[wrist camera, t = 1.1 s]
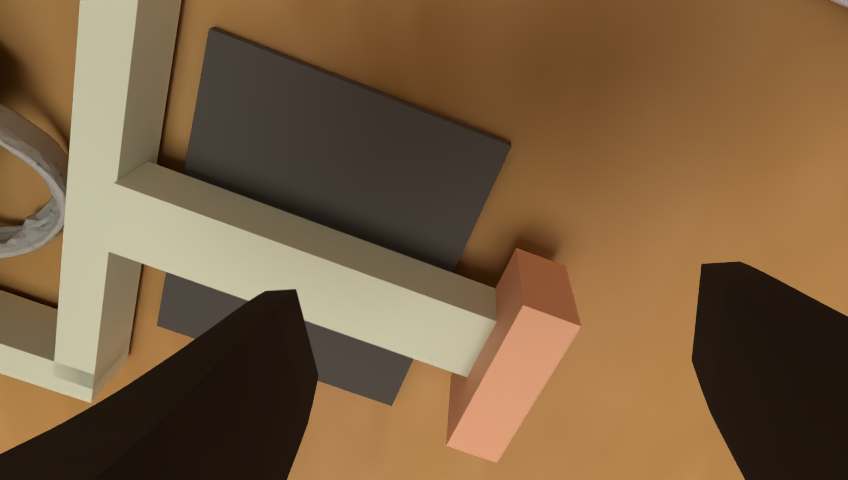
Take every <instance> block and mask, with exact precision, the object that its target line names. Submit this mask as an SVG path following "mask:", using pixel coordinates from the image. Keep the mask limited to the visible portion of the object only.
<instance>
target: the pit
mask: <svg viewBox="0 0 848 480" xmlns="http://www.w3.org/2000/svg"><path fill="white" fill-rule="evenodd" d="M510 148H511V142H508V141H505V140H503V139H500V138H498V137H495V136H493V135H490V134H487V133H485V132H482V131H480V130H477V129H475V128H472V127H470V126H467V125H464V124H462V123H459V122H457V121H454V120H452V119H449V118H446V117H444V116H441V115H439V114H436V113H434V112H431V111H428V110H426V109H423V108H421V107H418V106H416V105H413V104H411V103H408V102H405V101H403V100H400V99H398V98H395V97H393V96H390V95H387V94H385V93H382V92H380V91H377V90H375V89H372V88H369V87H367V86H364V85H362V84H359V83H357V82H354V81H352V80H349V79H346V78H344V77H341V76H339V75H336V74H334V73H331V72H328V71H326V70H323V69H321V68H318V67H316V66H313V65H310V64H308V63H305V62H303V61H300V60H298V59H295V58H293V57H290V56H287V55H285V54H282V53H280V52H277V51H275V50H272V49H269V48H267V47H264V46H262V45H259V44H257V43H254V42H251V41H249V40H246V39H244V38H241V37H239V36H236V35H234V34H231V33H228V32H226V31H223V30H221V29H218V28H216V27H213V28H210V29H209V33H208V39H207V44H206V50H205V56H204V61H203V67H202V73H201V78H200V84H199V90H198V96H197V101H196V107H195V113H194V118H193V124H192V130H191V135H190V141H189V147H188V152H187V158H186V164H185V169H184V175H187V176H190V177H192V178H195V179H198V180H200V181H203V182H206V183H209V184H211V185H214V186H217V187H220V188H222V189H225V190H228V191H230V192H233V193H236V194H239V195H241V196H244V197H247V198H250V199H252V200H255V201H258V202H261V203H263V204H266V205H269V206H271V207H274V208H277V209H280V210H282V211H285V212H288V213H291V214H293V215H296V216H299V217H301V218H304V219H307V220H310V221H312V222H315V223H318V224H321V225H323V226H326V227H329V228H332V229H334V230H337V231H340V232H342V233H345V234H348V235H351V236H353V237H356V238H359V239H362V240H364V241H367V242H370V243H372V244H375V245H378V246H381V247H383V248H386V249H389V250H392V251H394V252H397V253H400V254H403V255H405V256H408V257H411V258H413V259H416V260H419V261H422V262H424V263H427V264H430V265H433V266H435V267H438V268H441V269H443V270H446V271H449V272H452V273H453V272H454V269H455V267H456V265H457V263H458V261H459V259H460V256H461V254H462V252H463V250H464V248H465V246H466V243H467V241H468V239H469V237H470V235H471V232H472V230H473V228H474V226H475V224H476V222H477V219H478V217H479V215H480V213H481V211H482V209H483V206H484V204H485V202H486V200H487V198H488V196H489V193H490V191H491V189H492V187H493V185H494V183H495V180H496V178H497V176H498V174H499V172H500V169H501V167H502V165H503V163H504V161H505V159H506V156H507V154H508V152H509V150H510ZM247 302H248V300H245V299H242V298H239V297H236V296H234V295H231V294H228V293H225V292H222V291H219V290H216V289H214V288H211V287H208V286H205V285H202V284H199V283H197V282H194V281H191V280H188V279H185V278H182V277H179V276H177V275H174V274H171V273H168V272H166V277H165V283H164V288H163V294H162V300H161V305H160V311H159V317H158V322H157V326H160V327H163V328H166V329H169V330H171V331H174V332H177V333H180V334H183V335H186V336H189V337H192V338H195V339H196V338H198V337H199V336H200V335H202V334H203V333H205V332H206V331H207V330H209V329H210V328H211V327H213V326H214V325H216V324H217V323H218V322H220V321H221V320H223V319H224V318H225V317H227V316H228V315H229V314H231V313H232V312H234V311H235V310H236V309H238V308H239V307H241V306H242V305H244V304H245V303H247ZM304 321H305V320H304ZM305 325H306V329H307V333H308V337H309V340H310V344H311V348H312V352H313V356H314V360H315V363H316V367H317V371H318V375H319V376H318V381H320V382H323V383H326V384H329V385H332V386H335V387H338V388H341V389H344V390H347V391H350V392H353V393H356V394H358V395H361V396H364V397H367V398H370V399H373V400H376V401H379V402H382V403H385V404H388V405H391V406H392V404H393V402H394V400H395V398H396V395H397V393H398V391H399V389H400V387H401V385H402V382H403V380H404V378H405V376H406V374H407V372H408V369H409V367H410V365H411V363H412V361H413V358H410V357H408V356H405V355H402V354H399V353H396V352H393V351H390V350H388V349H385V348H382V347H379V346H376V345H373V344H370V343H368V342H365V341H362V340H359V339H356V338H353V337H350V336H348V335H345V334H342V333H339V332H336V331H333V330H331V329H328V328H325V327H322V326H319V325H316V324H313V323H311V322H308V321H305Z"/></svg>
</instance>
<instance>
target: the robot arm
mask: <svg viewBox="0 0 848 480" xmlns="http://www.w3.org/2000/svg"><path fill="white" fill-rule="evenodd" d="M830 1H832V2H834V3H836V4H839V5H841V6H843V7H846V8H848V0H830ZM692 363H693V366H694V368H695V371H696V374H697V377H698V380H699V383H700V386H701V389H702V392H703V394H704V397H705V400H706V402H707V405H708V408H709V410H710V413H711V415H712V417H713V419H714V421H715V423H716V425H717V427H718V428H719V430H720V432H721V434H722V436H723V438H724V440H725V442H726V444H727V446H728V448H729V450H730V452H731V454H732V456H733V457H734V459H735V461H736V463H737V465H738V467H739V469H740V471H741V473H742V474H743V476H744V478H745V480H848V317H847V316H846V315H844V314H842V313H840V312H838V311H836V310H834V309H832V308H830V307H828V306H826V305H824V304H823V303H821V302H819V301H817V300H815V299H813V298H811V297H809V296H807V295H806V294H804V293H802V292H800V291H798V290H796V289H794V288H792V287H790V286H789V285H787V284H785V283H783V282H781V281H779V280H777V279H775V278H773V277H771V276H770V275H768V274H766V273H764V272H762V271H760V270H758V269H756V268H753V267H751V266H749V265H747V264H744V263H742V262H726V263H710V264H702V266H701V275H700V285H699V295H698V304H697V314H696V324H695V334H694V343H693V353H692ZM318 376H319V375H318V371H317V367H316V363H315V360H314V356H313V352H312V348H311V344H310V340H309V337H308V333H307V329H306V325H305V321H304V317H303V314H302V310H301V306H300V302H299V298H298V294H297V291H296V289H288V290H272V291H264V292H263V293H261V294H259V295H257V296H256V297H254V298H252V299H251V300H249V301H248V302H247V303H245V304H244V305H242V306H241V307H239V308H238V309H236V310H235V311H234V312H232V313H231V314H229V315H228V316H227V317H225V318H224V319H223V320H221V321H220V322H218V323H217V324H216V325H214V326H213V327H211V328H210V329H209V330H207V331H206V332H205V333H203V334H202V335H200V336H199V337H198V338H196V339H195V340H193V341H192V342H191V343H189V344H188V345H186V346H185V347H184V348H182V349H181V350H179V351H178V352H177V353H175V354H174V355H172V356H171V357H169V358H168V359H166V360H165V361H163V362H162V363H160V364H159V365H157V366H156V367H154V368H153V369H151V370H150V371H148V372H147V373H145V374H144V375H142V376H141V377H139V378H138V379H136V380H135V381H133V382H132V383H130V384H129V385H127V386H125V387H124V388H122V389H121V390H119V391H117V392H116V393H114V394H112V395H111V396H109V397H107V398H106V399H104V400H102V401H101V402H99V403H97V404H96V405H94V406H92V407H90V408H89V409H87V410H85V411H83V412H81V413H80V414H78V415H76V416H74V417H73V418H71V419H69V420H67V421H65V422H64V423H62V424H60V425H58V426H56V427H54V428H52V429H50V430H48V431H46V432H44V433H42V434H40V435H38V436H36V437H34V438H32V439H30V440H28V441H26V442H24V443H22V444H20V445H18V446H16V447H14V448H12V449H10V450H8V451H6V452H4V453H2V454H0V480H287V478H288V475H289V472H290V470H291V467H292V465H293V462H294V459H295V457H296V454H297V451H298V449H299V446H300V443H301V441H302V438H303V435H304V432H305V430H306V427H307V424H308V420H309V416H310V412H311V408H312V404H313V400H314V395H315V390H316V385H317V381H318Z"/></svg>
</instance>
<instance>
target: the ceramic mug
mask: <svg viewBox="0 0 848 480" xmlns="http://www.w3.org/2000/svg"><path fill="white" fill-rule="evenodd" d="M0 145H1V146H2V147H4V148H5V149H7V150H8V151H10V152H11V153H13V154H14V155H16V156H17V157H19V158H20V159H22V160H23V161H24V162H26V163H27V164H28V165H29V166H31V167H32V168H33V169H34V170H36V171H37V172H38V173H39V174H40V175H41V177H42V178H43V179H44V180H45V182H46V183H47V184H48V186H49V187H50V188H49V189H50V191H51V193H52V195H53V197H52V198H51V200H50V201H49V202H48V203H47V204H46V205H45V207H43V208H42V209H41V210H40V211H39V212H38V213H36V214H33V215H30V216H28V217H27V219H26V220H25V222H24V224H23V225H17V226H0V258H5V257H12V256H18V255H22V254H26V253H29V252H33V251H35V250H37V249H39V248H40V247H42V246H44V245H46V244H47V243H49V242H50V241H51V240H53V239H54V238H55V237H56V236H57V235H58V234H59V233H60V232H61V230H62V229H63V228H64V218H65V204H66V190H67V176H68V162H69V157H68V155H67V154H66V153H65V152H64V150H63V149H62V148H61V146H60V145H59V144H58V143H57V142H56V141H55V140H54V139H53V138H52V137H51V136H50V135H48V134H47V133H46V132H44V131H43V130H41V129H40V128H39V127H37V126H36V125H34V124H33V123H31V122H30V121H29V120H27V119H26V118H24V117H23V116H21V115H20V114H18V113H17V112H15V111H13V110H12V109H10V108H8V107H6V106H4V105H3V104H1V103H0Z"/></svg>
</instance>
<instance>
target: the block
mask: <svg viewBox="0 0 848 480" xmlns="http://www.w3.org/2000/svg"><path fill="white" fill-rule="evenodd" d="M180 6H181V0H80V8H79V22H78V36H77V50H76V64H75V78H74V92H73V106H72V120H71V134H70V148H69V162H68V176H67V190H66V204H65V218H64V232H63V246H62V260H61V274H60V288H59V302H58V309H55V308H52V307H49V306H46V305H43V304H40V303H37V302H34V301H31V300H28V299H25V298H22V297H19V296H16V295H14V294H11V293H8V292H5V291H2V290H0V373H1V374H4V375H7V376H10V377H13V378H16V379H19V380H22V381H25V382H28V383H31V384H34V385H37V386H41V387H44V388H47V389H50V390H53V391H56V392H59V393H62V394H65V395H68V396H71V397H74V398H77V399H80V400H83V401H86V402H89V403H92V401H93V400H94V399H95V398H96V397H97V396H98V394H99V393H100V392H101V391H102V390H103V389H104V387H105V386H106V385H107V384H108V383H109V382H110V380H111V379H112V378H113V377H114V376H115V375H116V373H117V372H118V371H119V370H120V369H121V368H122V366H123V365H124V364H125V363H126V362H127V358H128V352H129V345H130V338H131V332H132V325H133V318H134V312H135V305H136V299H137V292H138V285H139V279H140V272H141V265H142V264H145V265H148V266H151V267H154V268H157V269H159V270H162V271H165V272H168V273H171V274H174V275H177V276H179V277H182V278H185V279H188V280H191V281H194V282H197V283H199V284H202V285H205V286H208V287H211V288H214V289H216V290H219V291H222V292H225V293H228V294H231V295H234V296H236V297H239V298H242V299H245V300H248V301H249V300H251V299H252V298H254V297H256V296H257V295H259V294H261V293H263V292H264V291H272V290H288V289H296V291H297V294H298V298H299V302H300V306H301V310H302V314H303V317H304V320H305V321H308V322H311V323H313V324H316V325H319V326H322V327H325V328H328V329H331V330H333V331H336V332H339V333H342V334H345V335H348V336H350V337H353V338H356V339H359V340H362V341H365V342H368V343H370V344H373V345H376V346H379V347H382V348H385V349H388V350H390V351H393V352H396V353H399V354H402V355H405V356H408V357H410V358H413V359H416V360H419V361H422V362H425V363H427V364H430V365H433V366H436V367H439V368H442V369H445V370H447V371H450V372H453V373H452V375H451V384H450V399H449V413H448V427H447V442H446V446H449V447H452V448H455V449H458V450H461V451H463V452H466V453H469V454H472V455H475V456H478V457H481V458H484V459H487V460H490V461H493V462H496V463H497V462H498V460H499V458H500V457H501V455H502V453H503V452H504V450H505V449H506V447H507V445H508V444H509V442H510V441H511V439H512V437H513V436H514V434H515V433H516V431H517V429H518V428H519V426H520V424H521V423H522V421H523V420H524V418H525V416H526V415H527V413H528V412H529V410H530V408H531V407H532V405H533V404H534V402H535V400H536V399H537V397H538V395H539V394H540V392H541V391H542V389H543V387H544V386H545V384H546V383H547V381H548V379H549V378H550V376H551V375H552V373H553V371H554V370H555V368H556V366H557V365H558V363H559V362H560V360H561V358H562V357H563V355H564V354H565V352H566V350H567V349H568V347H569V345H570V344H571V342H572V341H573V339H574V337H575V336H576V334H577V333H578V331H579V329H580V328H581V323H580V319H579V316H578V312H577V308H576V304H575V301H574V297H573V293H572V289H571V286H570V282H569V278H568V274H567V271H566V267H565V266H564V265H561V264H559V263H556V262H553V261H551V260H548V259H545V258H542V257H540V256H537V255H534V254H532V253H529V252H526V251H524V250H521V249H518V248H516V249H515V251H514V253H513V255H512V257H511V259H510V261H509V263H508V265H507V267H506V269H505V271H504V273H503V275H502V277H501V279H500V281H499V283H498V285H497V287H496V288H493V287H490V286H487V285H484V284H482V283H479V282H476V281H474V280H471V279H468V278H465V277H463V276H460V275H457V274H454V273H452V272H449V271H446V270H443V269H441V268H438V267H435V266H433V265H430V264H427V263H424V262H422V261H419V260H416V259H413V258H411V257H408V256H405V255H403V254H400V253H397V252H394V251H392V250H389V249H386V248H383V247H381V246H378V245H375V244H372V243H370V242H367V241H364V240H362V239H359V238H356V237H353V236H351V235H348V234H345V233H342V232H340V231H337V230H334V229H332V228H329V227H326V226H323V225H321V224H318V223H315V222H312V221H310V220H307V219H304V218H301V217H299V216H296V215H293V214H291V213H288V212H285V211H282V210H280V209H277V208H274V207H271V206H269V205H266V204H263V203H261V202H258V201H255V200H252V199H250V198H247V197H244V196H241V195H239V194H236V193H233V192H230V191H228V190H225V189H222V188H220V187H217V186H214V185H211V184H209V183H206V182H203V181H200V180H198V179H195V178H192V177H190V176H187V175H184V174H181V173H179V172H176V171H173V170H170V169H168V168H165V167H162V166H159V165H157V159H158V152H159V146H160V139H161V133H162V126H163V119H164V113H165V106H166V99H167V93H168V86H169V79H170V73H171V66H172V59H173V53H174V46H175V40H176V33H177V26H178V20H179V13H180Z"/></svg>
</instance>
